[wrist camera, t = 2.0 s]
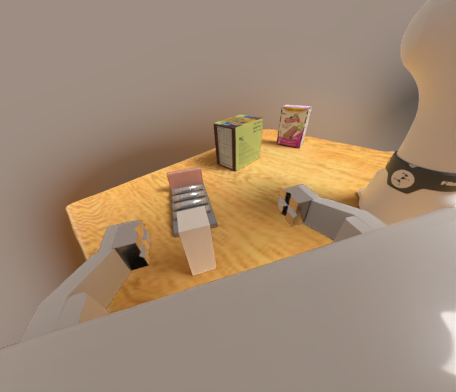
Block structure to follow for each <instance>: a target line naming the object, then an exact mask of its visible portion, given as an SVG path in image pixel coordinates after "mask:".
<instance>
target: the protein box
mask: <svg viewBox="0 0 456 392" xmlns="http://www.w3.org/2000/svg"><path fill="white" fill-rule="evenodd" d="M262 123H263V118H260V117H253V116H247V115H238V116H235V117H232V118H228V119H225V120H222V121H219V122H215V123H214V134H215V145H216V156H217V164H219V165H222V166H224V167H227V168H229V169H232V170H234V171H237V170H239V169H241V168H243V167H244V166H246V165H248V164H250V163H251V162H253V161H255V160H257V159H258V158H260V150H261V137H262Z"/></svg>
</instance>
